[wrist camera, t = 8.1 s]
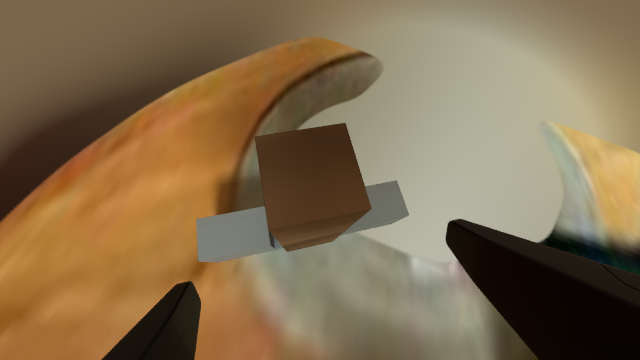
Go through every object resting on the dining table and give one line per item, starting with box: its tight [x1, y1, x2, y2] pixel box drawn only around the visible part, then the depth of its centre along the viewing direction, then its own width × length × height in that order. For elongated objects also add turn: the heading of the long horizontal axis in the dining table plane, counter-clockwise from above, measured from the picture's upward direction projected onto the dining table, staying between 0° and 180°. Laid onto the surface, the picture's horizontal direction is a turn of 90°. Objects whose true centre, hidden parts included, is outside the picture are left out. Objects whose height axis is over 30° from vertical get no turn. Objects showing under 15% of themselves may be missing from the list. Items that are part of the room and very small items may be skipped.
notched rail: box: [196, 181, 409, 262], centre depth 20 cm, size 3×16×4 cm, turn 103°
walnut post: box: [255, 123, 372, 252], centre depth 15 cm, size 4×4×12 cm
